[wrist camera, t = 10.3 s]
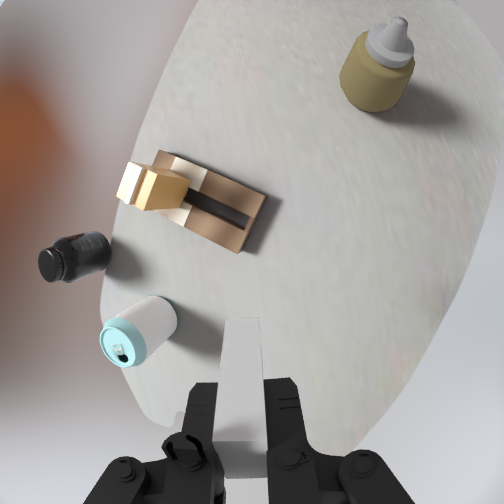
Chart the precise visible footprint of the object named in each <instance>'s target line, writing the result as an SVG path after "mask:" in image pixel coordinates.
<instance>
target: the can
mask: <svg viewBox="0 0 504 504" xmlns="http://www.w3.org/2000/svg"><path fill="white" fill-rule="evenodd" d="M176 327H177V316H176V313H175V311H174V309H173V307H172V306H171V305H170V304H169V303H168V302H167V301H166V300H165V299H163V298H161V297H158V296H148V297H146V298H144V299H143V300H141V301H139V302H138V303H136V304H134V305H133V306H131V307H129V308H128V309H126V310H124V311H123V312H121V313H119V314H118V315H116V316H114V317H113V318H111V319H109V320H108V321H107V322H106V324H105V325H104V328H103V330H102V332H101V334H100V344H101V347H102V350H103V352H104V354H105V355H106V356H107V358H108V359H109V360H110V361H111V362H113V363H114V364H116V365H118V366H119V367H123V368H128V367H131V366H137V365H140V364H142V363H143V362H144V361H145V360H146V359H147V358H148V357H149V356H150V355H151V354H152V353H153V352H154V351H155V350H156V349H157V348H158V347H159V346H160V345H161V344H162V343H163V342H165V341H166V340H167V339H168V338H169V337H170V336H171V335H172V334H173V333H174V331H175V330H176Z"/></svg>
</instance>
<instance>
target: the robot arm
mask: <svg viewBox="0 0 504 504" xmlns="http://www.w3.org/2000/svg"><path fill="white" fill-rule="evenodd" d="M162 449H163V451H164V452H165V454H166V456H167V458H165V459H162V460H158V461H152V462H145V463H141V462H140V461H139V460H137V459H135V458H133V457H128V456H126V457H119V458H117V459H115V460H113V461H112V462H111V463H110V464H109V465H108V467H107V468H106V470H105V471H104V473H103V474H102V476H101V477H100V479H99V480H98V482H97V483H96V485H95V486H94V488H93V489H92V491H91V492H90V494H89V495H88V497H87V498H86V500H85V501H84V503H83V504H225V503H226V491H225V487H224V475H225V477H226V478H227V479H230V478H231V479H233V478H234V479H238V478H240V479H241V478H265V477H268V495H269V504H415V503H414V502H413V500H412V499H411V498H410V496H409V495H408V493H407V492H406V491H405V489H404V488H403V487H402V485H401V484H400V482H399V481H398V480H397V478H396V477H395V476H394V475H393V473H392V472H391V470H390V469H389V468H388V466H387V465H386V463H385V462H384V460H383V459H382V458H381V457H380V456H379V455H378V454H377V453H375V452H373V451H370V450H357V451H353V452H351V453H349V454H348V455H346V456H345V457H342V456H331V455H325V454H321V453H319V452H317V451H315V450H314V449H313V448H312V447H311V446H310V445H309V443H308V440H307V437H306V431H305V426H304V420H303V415H302V410H301V404H300V399H299V394H298V389H297V386H296V384H295V383H294V382H293V381H292V380H291V378H290V377H288V378H278V379H265V380H263V365H262V351H261V338H260V324H259V317H249V318H233V319H226V321H225V329H224V337H223V346H222V354H221V363H220V372H219V381H218V383H196V384H195V386H194V387H193V388H192V389H191V391H190V392H189V397H188V402H187V407H186V413H185V417H184V421H183V427H182V431H181V432H178V433H175V434H173V435H170V437H168V438H167V439H166V440H165V441H164V443H163V445H162Z"/></svg>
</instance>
